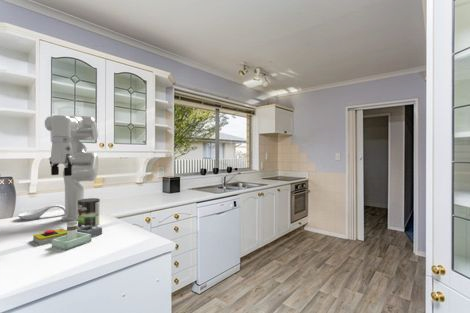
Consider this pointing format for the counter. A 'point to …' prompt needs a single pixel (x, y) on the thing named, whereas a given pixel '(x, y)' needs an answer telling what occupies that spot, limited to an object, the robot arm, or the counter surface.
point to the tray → (65, 245)
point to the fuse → (71, 230)
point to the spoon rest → (37, 212)
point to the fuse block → (90, 230)
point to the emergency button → (47, 236)
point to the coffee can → (88, 212)
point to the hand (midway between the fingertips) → (61, 175)
